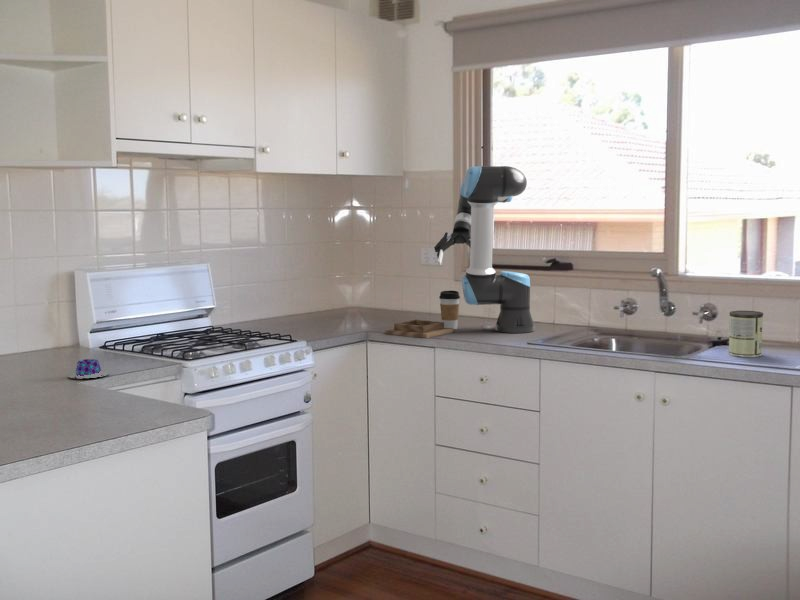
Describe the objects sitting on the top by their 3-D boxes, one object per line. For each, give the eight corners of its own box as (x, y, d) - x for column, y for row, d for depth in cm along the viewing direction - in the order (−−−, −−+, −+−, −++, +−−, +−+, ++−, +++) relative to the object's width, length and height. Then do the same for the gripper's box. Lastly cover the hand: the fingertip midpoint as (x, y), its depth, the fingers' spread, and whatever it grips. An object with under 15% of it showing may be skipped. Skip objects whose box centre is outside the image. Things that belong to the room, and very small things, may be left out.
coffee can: (726, 351, 297) (727, 310, 296) (758, 352, 295) (760, 310, 293) (730, 357, 287) (731, 314, 286) (764, 358, 285) (765, 314, 283)
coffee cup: (460, 326, 361) (460, 290, 360) (459, 329, 353) (459, 292, 351) (439, 326, 362) (439, 290, 360) (438, 329, 354) (438, 292, 352)
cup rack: (453, 332, 347) (453, 322, 347) (426, 338, 333) (426, 327, 332) (412, 328, 359) (412, 318, 359) (385, 333, 345) (384, 323, 344)
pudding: (118, 375, 269) (117, 358, 269) (89, 382, 259) (88, 365, 258) (88, 372, 275) (87, 355, 274) (58, 379, 264) (57, 362, 263)
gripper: (492, 232, 377) (486, 269, 364) (436, 232, 384) (427, 269, 371) (490, 219, 371) (483, 257, 358) (433, 220, 378) (424, 257, 365)
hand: (455, 263), depth 365 cm, fingers open, 13 cm apart
